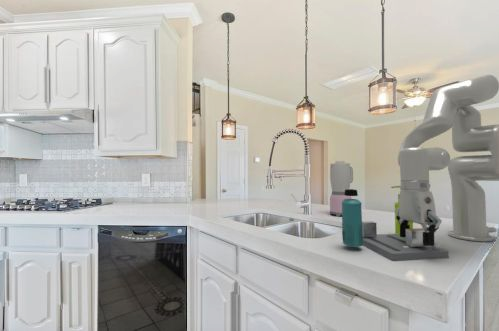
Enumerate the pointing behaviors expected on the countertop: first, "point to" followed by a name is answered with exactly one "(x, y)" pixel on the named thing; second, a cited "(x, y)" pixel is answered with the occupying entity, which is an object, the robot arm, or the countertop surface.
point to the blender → (339, 185)
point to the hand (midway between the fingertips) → (416, 240)
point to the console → (402, 248)
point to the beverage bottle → (352, 220)
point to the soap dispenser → (397, 226)
